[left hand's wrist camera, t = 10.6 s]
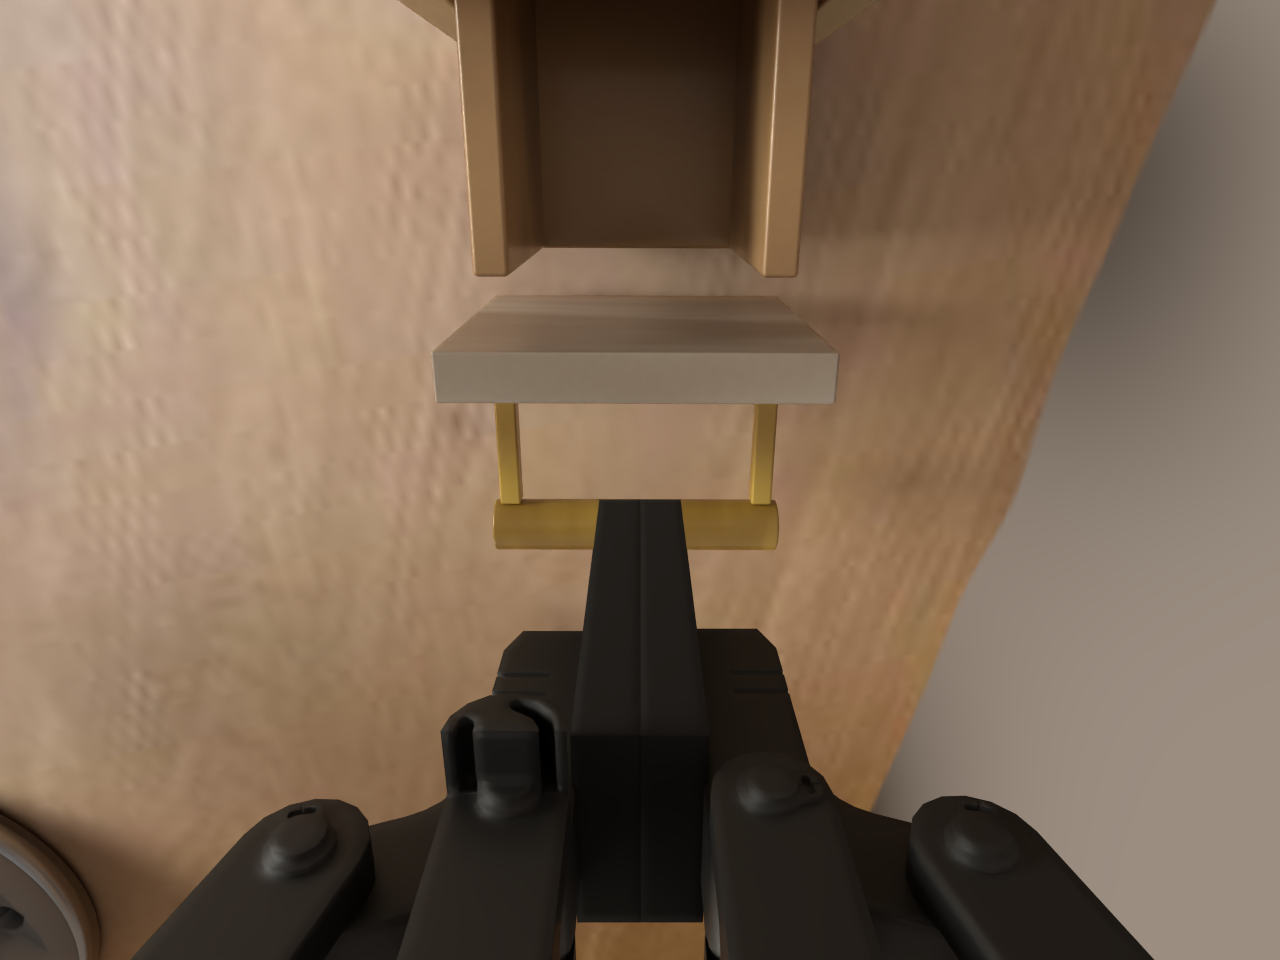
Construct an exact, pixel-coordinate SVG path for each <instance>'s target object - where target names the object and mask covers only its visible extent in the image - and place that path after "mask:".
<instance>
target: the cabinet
mask: <svg viewBox="0 0 1280 960" xmlns="http://www.w3.org/2000/svg"><path fill="white" fill-rule="evenodd" d="M398 1H399V2H401V3H402V4H403V5H405V6H406V7H408V8H409V9H411V10H412V11H413V12H415V13H416V14H418V15H419V16H421V17H422V18H423V19H425V20H426V21H428V22H429V23H431V24H432V25H433V26H435V27H436V28H438V29H439V30H441V31H442V32H443V33H445V34H446V35H448V36H449V37H451V38H452V39H453V40H455V41H456V42H457V36H456V22H455V8H454V0H398ZM876 1H878V0H818V7H817V21H816V35H815V45H816V44H817V43H819V42H820V41H822V40H823V39H824V38H826V37H827V36H829V35H830V34H831V33H833V32H834V31H836V30H837V29H838V28H840V27H841V26H843V25H844V24H845V23H847V22H848V21H850V20H851V19H852V18H854V17H855V16H857V15H858V14H859V13H861V12H862V11H864V10H865V9H866V8H868V7H869V6H871V5H872V4H873V3H875V2H876Z"/></svg>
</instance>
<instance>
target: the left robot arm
mask: <svg viewBox="0 0 1280 960" xmlns="http://www.w3.org/2000/svg"><path fill="white" fill-rule="evenodd" d="M782 671H783V670H782V667H781V663H780V660H779V656H778V653H777V649H776V647H775V646H774V645H773V644H772V643H771V642H770V641H769V640H768V639H767V638H766V637H765V636H764V635H763V634H762V633H761V632H760V631H759V630H758V629H697V626H696V618H695V610H694V602H693V594H692V586H691V578H690V570H689V562H688V554H687V546H686V538H685V530H684V522H683V514H682V506H681V500H599V506H598V514H597V522H596V530H595V538H594V546H593V554H592V562H591V570H590V578H589V586H588V594H587V602H586V610H585V618H584V626H583V631H523V632H522V633H521V634H520V635H519V636H518V637H517V638H516V639H515V640H514V641H513V642H512V643H511V644H510V645H509V646H508V647H507V648H506V649H505V650H504V652H503V656H502V659H501V663H500V666H499V670H498V677H496V680H495V684H494V688H493V691H492V695H490V696H487V697H484V698H481V699H479V700H476V701H473V702H471V703H468V704H467V705H465V706H464V707H462V708H461V709H460V710H458V711H457V712H455V713H454V714H453V715H451V716H450V718H449V719H448V721H447V722H446V724H445V725H444V727H443V728H442V730H441V740H442V749H443V758H444V767H445V776H446V785H447V797H446V798H445V799H444V800H443V801H441V802H440V803H438V804H436V805H434V806H432V807H430V808H428V809H426V810H424V811H421V812H418V813H415V814H412V815H409V816H407V817H403V818H399V819H395V820H391V821H387V822H383V823H379V824H375V825H371V826H369V824H368V820H367V819H366V818H365V816H364V815H363V814H362V813H361V811H360V810H359V809H358V808H357V807H355V806H353V805H350V804H348V803H346V802H343V801H341V800H330V799H313V800H309V801H305V802H301V803H296V804H292V805H289V806H287V807H285V808H283V809H281V810H279V811H277V812H275V813H273V814H271V815H269V816H267V817H265V818H263V819H262V820H261V821H260V822H259V823H257V824H256V825H255V826H254V827H253V828H251V829H250V830H249V831H248V832H247V833H245V834H244V835H243V836H242V837H241V839H240V840H239V841H238V842H237V843H236V844H235V845H234V846H233V847H232V848H231V850H230V851H229V852H228V853H227V854H226V855H225V856H224V857H223V858H222V859H221V861H220V862H219V863H218V864H217V865H216V866H215V867H214V868H213V869H212V870H211V872H210V873H209V874H208V875H207V876H206V877H205V878H204V879H203V880H202V881H201V883H200V884H199V885H198V886H197V887H196V888H195V889H194V890H193V891H192V892H191V894H190V895H189V896H188V897H187V898H186V899H185V900H184V901H183V902H182V903H181V905H180V906H179V907H178V908H177V909H176V910H175V911H174V912H173V913H172V915H171V916H170V917H169V918H168V919H167V920H166V921H165V922H164V923H163V924H162V926H161V927H160V928H159V929H158V930H157V931H156V932H155V933H154V934H153V935H152V937H151V938H150V939H149V940H148V941H147V942H146V943H145V944H144V945H143V946H142V948H141V949H140V950H139V951H138V952H137V953H136V954H135V955H134V956H133V957H132V959H131V960H576V948H575V928H576V916H577V922H703V912H704V924H705V948H704V960H1154V959H1153V958H1152V957H1151V956H1150V955H1149V954H1148V952H1147V951H1146V950H1145V949H1144V948H1143V947H1142V946H1141V945H1140V944H1139V943H1138V942H1137V940H1136V939H1135V938H1134V937H1133V936H1132V935H1131V934H1130V933H1129V932H1128V931H1127V930H1126V928H1125V927H1124V926H1123V925H1122V924H1121V923H1120V922H1119V921H1118V920H1117V919H1116V917H1115V916H1114V915H1113V914H1112V913H1111V912H1110V911H1109V910H1108V909H1107V908H1106V907H1105V905H1104V904H1103V903H1102V902H1101V901H1100V900H1099V899H1098V898H1097V897H1096V896H1095V895H1094V893H1093V892H1092V891H1091V890H1090V889H1089V888H1088V887H1087V886H1086V885H1085V884H1084V882H1083V881H1082V880H1081V879H1080V878H1079V877H1078V876H1077V875H1076V874H1075V873H1074V872H1073V870H1072V869H1071V868H1070V867H1069V866H1068V865H1067V864H1066V863H1065V862H1064V861H1063V860H1062V858H1061V857H1060V856H1059V855H1058V854H1057V853H1056V852H1055V851H1054V850H1053V849H1052V847H1051V846H1050V845H1049V844H1048V843H1047V842H1046V841H1045V840H1044V839H1043V838H1042V837H1041V835H1040V834H1039V833H1038V832H1037V831H1036V830H1034V829H1033V828H1032V827H1031V826H1030V825H1028V824H1027V823H1026V822H1025V821H1024V820H1022V819H1021V818H1020V817H1019V816H1018V815H1016V814H1015V813H1013V812H1011V811H1009V810H1007V809H1004V808H1002V807H1000V806H998V805H996V804H994V803H992V802H989V801H985V800H981V799H977V798H972V797H968V796H943V797H939V798H937V799H934V800H932V801H930V802H927V803H925V804H923V805H922V806H921V808H920V809H919V810H918V811H917V813H916V814H915V815H914V816H913V818H912V823H910V822H906V821H902V820H898V819H894V818H890V817H886V816H882V815H877V814H874V813H871V812H868V811H865V810H862V809H859V808H856V807H854V806H852V805H850V804H848V803H846V802H845V801H843V800H841V799H839V798H837V797H836V796H835V795H834V794H833V793H832V791H831V789H830V787H829V786H828V784H827V782H826V780H825V779H824V777H823V776H822V775H821V774H820V773H818V772H817V771H816V770H815V769H813V768H812V767H811V766H810V764H809V761H808V758H807V754H806V751H805V747H804V744H803V740H802V737H801V733H800V730H799V726H798V723H797V719H796V716H795V712H794V709H793V705H792V702H791V698H790V695H789V694H788V688H787V684H786V681H785V677H784V675H783V672H782ZM99 950H100V931H99V924H98V920H97V917H96V913H95V910H94V908H93V905H92V903H91V900H90V898H89V897H88V895H87V893H86V891H85V889H84V887H83V886H82V885H81V883H80V882H79V880H78V879H77V877H76V876H75V875H74V873H73V872H72V871H71V870H70V868H69V867H68V866H67V865H66V864H65V863H64V862H63V861H62V860H61V859H60V858H59V857H58V856H57V854H56V853H55V852H53V851H52V850H51V849H50V848H49V847H48V846H47V845H45V844H44V843H43V842H42V841H41V840H39V839H38V838H37V837H35V836H34V835H33V834H31V833H30V832H29V831H27V830H26V829H24V828H23V827H21V826H20V825H18V824H16V823H15V822H13V821H11V820H10V819H8V818H6V817H4V816H3V815H1V814H0V960H98V957H99Z"/></svg>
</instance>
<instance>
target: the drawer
mask: <svg viewBox="0 0 1280 960" xmlns="http://www.w3.org/2000/svg"><path fill="white" fill-rule="evenodd" d="M817 7H818V0H454V8H455V22H456V36H457V51H458V65H459V79H460V93H461V107H462V121H463V135H464V149H465V164H466V178H467V192H468V206H469V220H470V234H471V248H472V263H473V273H474V275H476V276H507V275H509V274H510V273H512V272H513V271H514V270H515V269H517V268H518V267H519V266H520V265H522V264H523V263H524V262H525V261H527V260H528V259H529V258H530V257H532V256H533V255H534V254H535V253H537V252H538V251H539V250H540V249H542V248H731V249H732V250H733V251H734V252H736V253H737V254H738V255H739V256H740V257H741V258H743V259H744V260H745V261H746V262H747V263H748V264H750V265H751V266H752V267H753V268H754V269H755V270H757V271H758V272H759V273H760V274H761V275H762V276H764V277H796V276H797V274H798V266H799V253H800V239H801V225H802V212H803V198H804V184H805V171H806V157H807V144H808V130H809V116H810V103H811V89H812V75H813V62H814V48H815V35H816V21H817ZM839 357H840V355H839V353H838V352H837V351H836V350H835V349H834V348H833V347H831V346H830V345H829V344H828V343H827V342H826V341H825V340H824V339H823V338H822V337H821V336H819V335H818V334H817V333H816V332H815V331H814V330H813V329H812V328H811V327H810V326H809V325H808V324H806V323H805V322H804V321H803V320H802V319H801V318H800V317H799V316H798V315H797V314H796V313H794V312H793V311H792V310H791V309H790V308H789V307H788V306H787V305H786V304H785V303H784V302H783V301H781V300H780V299H779V298H778V297H776V296H506V295H497V296H495V297H494V298H493V299H492V300H491V301H490V302H489V303H487V304H486V305H485V306H484V307H483V308H482V309H481V310H479V311H478V312H477V313H476V314H475V315H474V316H473V317H471V318H470V319H469V320H468V321H467V322H466V323H465V324H463V325H462V326H461V327H460V328H459V329H458V330H456V331H455V332H454V333H453V334H452V335H451V336H450V337H448V338H447V339H446V340H445V341H444V342H443V343H442V344H440V345H439V346H438V347H437V348H436V349H435V350H434V351H432V353H431V359H432V370H433V380H434V391H435V401H436V402H437V403H494V405H495V420H496V436H497V451H498V466H499V482H500V497H501V499H497V501H496V503H495V507H494V513H493V538H494V544H495V547H496V548H497V549H593V546H594V538H595V530H596V522H597V514H598V506H599V500H681V506H682V514H683V522H684V530H685V538H686V546H687V550H775V549H776V547H777V543H778V535H779V517H778V508H777V504H776V502H775V500H771V495H772V481H773V466H774V451H775V437H776V422H777V408H778V404H834V403H835V399H836V389H837V378H838V368H839ZM518 403H617V404H754V420H753V437H752V455H751V472H750V490H749V498H750V500H710V499H522V497H523V486H522V468H521V449H520V431H519V412H518Z"/></svg>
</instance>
